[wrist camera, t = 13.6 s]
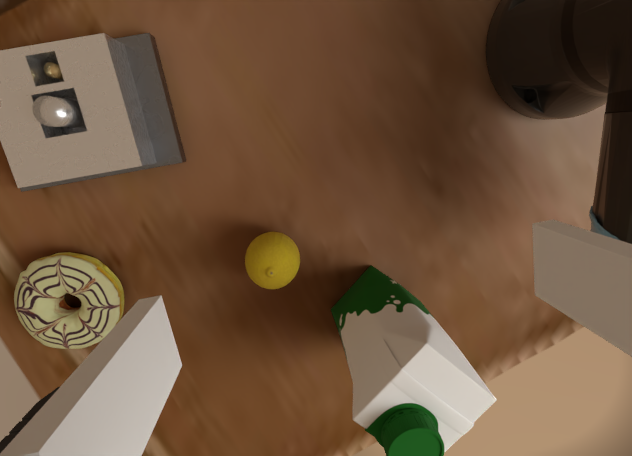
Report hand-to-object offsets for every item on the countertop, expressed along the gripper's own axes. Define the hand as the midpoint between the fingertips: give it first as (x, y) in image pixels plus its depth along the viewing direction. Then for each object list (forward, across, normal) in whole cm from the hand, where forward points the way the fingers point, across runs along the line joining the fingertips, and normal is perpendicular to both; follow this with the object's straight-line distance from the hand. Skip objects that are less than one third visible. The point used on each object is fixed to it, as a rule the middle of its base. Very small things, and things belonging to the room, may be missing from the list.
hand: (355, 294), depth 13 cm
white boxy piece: (+27, +20, -11) cm, 35 cm away
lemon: (+29, +5, +6) cm, 30 cm away
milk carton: (+29, -5, +15) cm, 33 cm away
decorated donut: (+29, +27, +7) cm, 40 cm away
